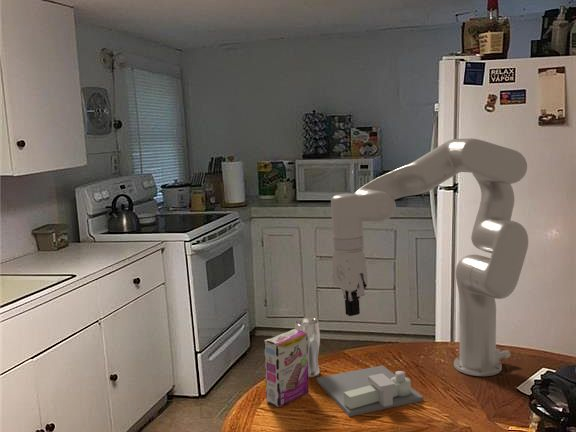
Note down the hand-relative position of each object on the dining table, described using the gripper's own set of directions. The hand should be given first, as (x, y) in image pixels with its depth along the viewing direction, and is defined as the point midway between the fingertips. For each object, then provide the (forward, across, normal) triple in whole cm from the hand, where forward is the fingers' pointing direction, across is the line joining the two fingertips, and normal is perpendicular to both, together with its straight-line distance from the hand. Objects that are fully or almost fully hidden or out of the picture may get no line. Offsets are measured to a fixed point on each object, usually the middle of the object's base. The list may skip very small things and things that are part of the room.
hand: (352, 314), depth 142 cm
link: (+19, +9, +1) cm, 21 cm away
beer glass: (+20, -16, -6) cm, 27 cm away
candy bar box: (+20, -5, -17) cm, 27 cm away
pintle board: (+21, +2, +2) cm, 21 cm away
